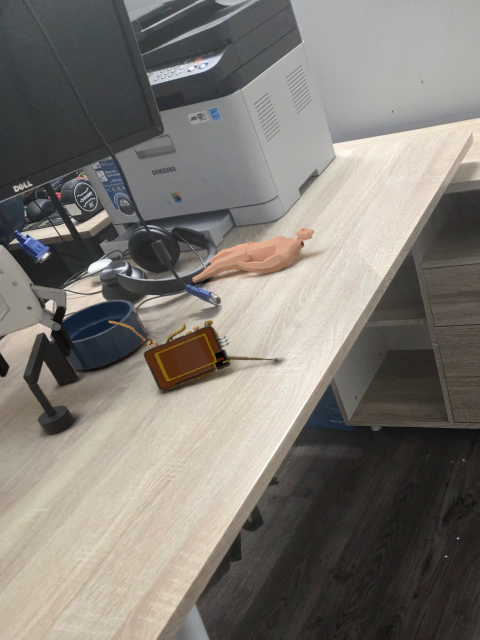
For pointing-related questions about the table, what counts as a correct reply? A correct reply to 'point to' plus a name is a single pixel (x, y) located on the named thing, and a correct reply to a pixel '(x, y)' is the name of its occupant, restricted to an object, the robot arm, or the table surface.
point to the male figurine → (257, 256)
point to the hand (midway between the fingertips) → (37, 362)
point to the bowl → (102, 333)
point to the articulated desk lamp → (63, 373)
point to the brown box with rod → (187, 356)
